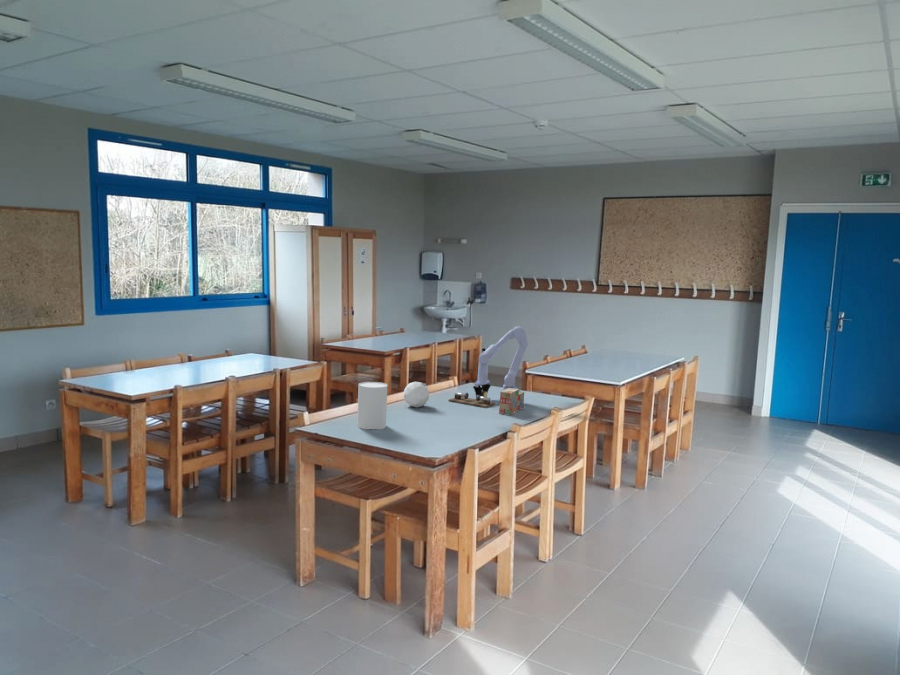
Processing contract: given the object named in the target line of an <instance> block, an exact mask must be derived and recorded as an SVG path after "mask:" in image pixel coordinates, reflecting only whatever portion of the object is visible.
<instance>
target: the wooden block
mask: <svg viewBox="0 0 900 675" xmlns="http://www.w3.org/2000/svg"><path fill="white" fill-rule="evenodd" d="M481 397H487V398H488V393H487V392H486V391H482V392H481Z"/></svg>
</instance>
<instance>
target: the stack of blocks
mask: <svg viewBox="0 0 900 675" xmlns="http://www.w3.org/2000/svg"><path fill="white" fill-rule="evenodd" d="M519 390H520V388H519V389H512V388H507V389H505V390H503V389H502V391H500V392H499V393H500V394H499V397H500V398H499V409H498V414H499V413H501V414H500V415H504V414H509V415H508V416H511V415H513V414H512V413H514V412H515V413H516V411H517V412H519V411H521V410H523V409H524V403H525V391H519ZM522 408H523V409H522ZM520 409H521V410H520ZM518 410H519V411H518ZM515 413H514V414H515ZM510 414H511V415H510Z"/></svg>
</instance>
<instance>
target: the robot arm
mask: <svg viewBox="0 0 900 675" xmlns="http://www.w3.org/2000/svg"><path fill="white" fill-rule="evenodd" d="M515 339H516V341H517V342H518V347H517V349H516V351H515V354H514V356H513V360H512V363H511V365H510V368H509V370H508V372H507V374H506V375H505V376H504V379H503V385H502V391H503V390H505V389H507V388H512V389H519V391H520V388H518V387H516V377H517V374H518V371H519V368H520V366H521V363H522V360H523V358H524V356H525V352H526V350H527V347H528V345H529V341H528V338H527V333H526V331H525V329H524V328H523V327H522V326H521V325H515V326H514V327H513V329H510V330H509V331H508V332H506V333H505V334H504V335H503V336H502V337H501V338H500V339H499V340H498V341H497V342H496V343H494V344H491V345H488V348H486V349H485V351H484V350H483V351H482V353H481V354H479V356H478V367H477V370H478V371H477V380H476V381H475V382H474V385H473V386H472V388H473V390H474V392H475V398H476V397H477V395H480V396H481V392H482V391H486V392H487V394H488V392H489V390H490V388H491V386H492V385H491V384H490V380H489V379H488V378H489V377H488V376H489V362H490V360H491V359H493V358H494V357H495V355H497V354H498V353H499V352H500V348H501V347H503V346H504V345H505V344H506V343H507V342H508V341H509V340H515ZM520 392H521V391H520Z"/></svg>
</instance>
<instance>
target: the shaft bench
mask: <svg viewBox="0 0 900 675" xmlns="http://www.w3.org/2000/svg"><path fill="white" fill-rule="evenodd" d="M448 402H450V403H456V404H462V405H466V406H467V405H468V406H473V407H479V408H485V409H487V408H490V407H492V406H496V402H494V401H490V402H489V401H486V400H484V401H483V400H479V401H477V400H476V398H471V397H470V398H469V397H468V399H465V397H460V396H458V395H455V394H454V397H453V398H450V399H448Z"/></svg>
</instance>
